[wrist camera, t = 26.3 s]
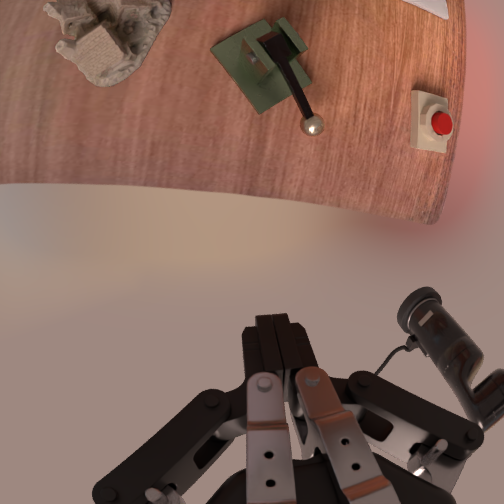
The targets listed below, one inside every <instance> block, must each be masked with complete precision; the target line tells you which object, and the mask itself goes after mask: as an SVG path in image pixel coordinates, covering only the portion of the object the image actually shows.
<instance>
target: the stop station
mask: <svg viewBox="0 0 504 504" xmlns="http://www.w3.org/2000/svg"><path fill="white" fill-rule="evenodd" d="M435 113H446V114H448V115H449V116H450V117H451V119H452V116H451V114H450V112H449V111H448V99H447V98H444V97H441V96H437V95H434V94H431V93H427V92H424V91H420V90H412V91H411V137H410V147H413V148H417V149H423V150H430V151H436V152H441V153H446V146H447V140H449V139H450V137H451V134H452V132H453V128H452V131H451V133H450V134H448V135H444V134H438V133H436V132H435V131H434V130H433V128H432V124H431V119H432V116H433V115H434V114H435ZM452 123H453V119H452Z"/></svg>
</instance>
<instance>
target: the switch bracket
mask: <svg viewBox="0 0 504 504" xmlns="http://www.w3.org/2000/svg"><path fill="white" fill-rule="evenodd" d="M271 31H273V32H278V33H281V34H282V36H283V38H284V39H285V41H286V43H287V45H288V47H289V49H290V51H291V53H292V54H291V55H289V56H287V57H286V58H287V60H288V62H289V64H290V66H291V68H292V70H293V72H294V74H295V76H296V78H297V80H298V82H299V84H300V86H301V88H302V89H303V88H304V87H306V86H308V85H310V84H312V82H311V80H310V79H309V77H308V76H307V74H306V73H305V71H304V70H303V69H302V67H301V66H300V64H299V63H298V61H297V60H296V59H297V58H298V57H299V56H300V55H301V54H303V53H304V52H305V51H306V50H308V47H307V46H306V45H305V43H304V42H303V41H302V39H301V38H300V36H299V35H298V33H297V32H296V31H295V30H294V29H293V28H292V26H291V25H290V24H289V23H288V21H287V20H286V19H285V18H284V17H282V18H280V19H278V20H276V22H275V24H274V25H273V27H272V28H271V26H270V25H269V24H268V23H267V22H266V20H265V19H263V20H261V21H259V22H257V23H255V24H253V25H251V26H249V27H247V28H245V29H243V30H241V31H240V32H238V33H236V34H234V35H232V36H231V37H229V38H227V39H226V40H224V41H222V42H220V43H219V44H217V45H215V46H214V47H212V48H211V49H210V51H211V53H212V54H213V55H214V56H215V58H216V59H217V60H218V61H219V63H220V64H221V65H222V66H223V68H224V69H225V70H226V71H227V73H228V74H229V75H230V77H231V78H232V79H233V80H234V82H235V83H236V84H237V86H238V87H239V88H240V90H241V91H242V92H243V94H244V95H245V96H246V98H247V99H248V100H249V102H250V103H251V105H252V106H253V107H254V109H255V110H256V111H257V113H258V114H261V113H263V112H264V111H266V110H267V109H269V108H271V107H272V106H274V105H275V104H277V103H279V102H280V101H282V100H284V99H285V98H287V97H289V96H290V95H292V93H291V91H290V89H289V87H288V85H287V83H286V81H285V79H284V77H283V76H282V74H281V72H280V70H279V68H278V66H277V64H276V63H274V62H273V61H272V59H271V58H270V57H269V55H268V54H267V53H266V51H265V50H264V49H263V48H262V46H261V45H260V44H259V43H258V41H257V40H256V39H257V38H259V37H261V36H263V35H265V34H267V33H269V32H271Z"/></svg>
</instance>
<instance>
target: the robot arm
mask: <svg viewBox="0 0 504 504" xmlns="http://www.w3.org/2000/svg"><path fill="white" fill-rule="evenodd" d="M406 325H407V327H408V330H407V331H408V332H409V334H410V335H411V336H409V337H408V339H407V342H406V345H407V346H405V345H403V346H400V347H398V348H396V349H395V350H393V351H392V352H391V353H390V355H389V356H388V357H387V358H386V360H385V361H384V363H383V364H382V365H381V366H380V367H379V369H378V370H377V371H376V372H375V374H373V373H371V372H368V371H357V372H354V373H353V374H351V375H350V377H349V378H348V379H341V378H333V377H330V376H328V374H327V373H326V372H325V371H324V370H323V369H321V368H319V367H318V364H317V361H316V358H315V355H314V353H313V350H312V347H311V345H310V341H309V339H308V336H307V333H306V330H305V328H304V327H303V326H301V325H300V324H299V323H290V321H289V318H288V315H287V313H282V314H272V315H258V316H256V317H255V326H254V327H245V329H244V331H243V333H242V346H243V360H244V371H245V380H244V382H243V383H242V385H241V386H239V387H238V388H236V389H234V390H232V391H229V392H226V393H224V392H223V391H220V390H218V389H208V390H205V391H202V392H201V393H199V395H197V396H196V397H195V398H194V399H193V400H192V401H191V402H190V403H189V404H188V405H187V406H186V407H184V408H183V409H182V410H181V411H180V412H179V413H178V414H177V415H176V416H175V417H174V418H173V419H171V420H170V421H169V422H168V423H167V424H166V425H165V426H164V427H163V428H162V429H160V430H159V431H158V432H157V433H156V434H155V435H154V436H153V437H151V438H150V439H149V440H148V441H147V442H146V443H144V444H143V445H142V446H141V447H140V448H139V449H138V450H136V451H135V452H134V453H133V454H132V455H130V456H129V457H128V458H127V459H126V460H125V461H123V462H122V463H121V464H120V465H118V466H117V467H116V468H115V469H114V470H112V471H111V472H110V473H109V474H107V475H106V476H105V477H104V478H102V479H101V480H100V481H98V482H97V483H96V484H95V486H94V488H93V491H92V497H93V500H94V502H95V504H185V501H184V500H183V498H182V497H181V496H182V495H183V494H184V493H185V492H186V491H187V490H188V489H189V488H190V487H191V486H192V485H193V484H194V483H195V482H196V481H197V480H198V479H199V478H200V477H201V476H202V475H203V474H204V473H205V472H206V471H207V469H209V467H210V466H211V465H212V464H213V463H214V462H215V461H216V460H217V459H218V458H219V457H220V456H221V454H222V453H223V452H224V451H225V450H226V449H227V448H228V446H229V445H230V444H231V443H232V442H233V441H234V439H235V437H238V436H241V435H243V434H246V468H245V469H243V470H241V471H238V472H237V473H235V474H233V475H232V476H230V477H229V478H228V479H227V480H226V481H225V482H224V483H223V484H222V485H221V486H220V488H219V489H218V490H217V491H216V492H215V493H214V495H213V496H212V497H211V498H210V499H209V500H208V502H207V503H206V504H456V501H455V499H454V497H453V496H452V495H451V492H452V490H453V488H454V486H455V484H456V482H457V480H458V478H459V476H460V474H461V471H462V469H463V467H464V464H465V462H466V460H467V459H468V458H469V457H470V456H471V455H472V453H474V452H475V451H476V450H477V449H478V448H479V447H480V446H481V445H482V443H483V440H484V433H485V432H486V431H488V430H489V429H490V428H492V427H493V426H494V425H495V424H496V423H497V422H499V421H500V420H501V419H502V418H503V417H504V369H497V370H495V371H493V372H492V373H491V374H490V375H488V376H487V377H486V378H485V379H484V380H483V381H482V382H481V383H479V384H478V385H477V386H476V387H475V388H474V389H471V388H470V387H471V384H472V381H473V379H474V377H475V375H476V374H477V372H478V371H479V369H480V367H481V365H482V363H483V360H484V355H483V352H482V351H481V350H480V348H479V347H478V346H477V345H476V344H475V343H474V341H473V340H472V339H471V338H470V337H469V336H468V334H467V333H466V332H465V331H464V330H463V329H462V328H461V327H460V325H459V324H458V323H457V322H456V321H455V320H454V319H453V317H452V316H451V315H450V314H449V313H448V312H447V311H446V310H445V309H444V308H443V307H442V305H441V304H440V303H439V302H438V301H437V300H436V299H435V298H434V297H427V298H424V299H422V300H421V301H419V302H418V303H417V304H416V305H415V306H414V307H413V308H412V309H411V311H410V312H409V314H408V316H407V320H406ZM418 347H419V348H420V349H421V351H422V352H423V353H424V355H425V356H426V357H430V358H431V359H432V361H433V362H434V364H435V365H436V367H437V368H438V370H439V371H440V373H441V374H442V376H443V377H444V379H445V380H446V382H447V383H448V384H449V386H450V387H451V389H452V390H453V392H454V394H455V395H456V397H457V398H458V400H459V402H460V404H461V406H462V407H463V409H464V411H465V413H466V415H467V417H468V419H469V420H467V419H465V418H463V417H460V416H458V415H456V414H454V413H452V412H449V411H447V410H445V409H443V408H441V407H439V406H436V405H435V404H433V403H430V402H428V401H426V400H424V399H422V398H420V397H418V396H416V395H414V394H412V393H410V392H408V391H406V390H404V389H402V388H400V387H398V386H396V385H394V384H392V383H390V382H388V381H386V380H384V379H382V378H381V377H379V376H377V375H378V374H379V373H380V371H382V369H383V368H384V367H385V366H386V364H387V363H388V362H389V360H390V359H391V358H392V356H393V355H394V354H395V353H396V352H398V351H400V350H402V349H404V350H405V351H407V352H410V351H412V350H413V349H415V348H418ZM284 402H289V407H290V411H291V413H290V415H291V419H292V422H293V425H294V428H295V431H296V434H297V437H298V440H299V444H300V447H301V452H302V460H295V459H292V452H291V444H290V434H289V427H288V423H286V416H285V406H284ZM368 443H370V444H371V445H373V446H375V447H377V448H379V449H380V450H382V451H384V452H386V453H388V454H390V455H391V456H393V457H395V458H397V459H399V460H401V461H403V462H405V463H407V468H408V471H407V470H405V469H403V468H401V467H400V466H398V465H396V464H395V463H393V462H391V461H389V460H388V459H386V458H384V457H382V456H381V455H379V454H377V453H374V452H372V451H371V449H370V447H369V445H368Z"/></svg>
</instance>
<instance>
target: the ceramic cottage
mask: <svg viewBox="0 0 504 504" xmlns="http://www.w3.org/2000/svg"><path fill="white" fill-rule="evenodd" d="M170 4H171V3H170V1H169V0H57V2H47V3H46V4H45V5H44V7H43V11H46V12H47V13H48V15H49V16H51V17H52V18H56V19H58V20H59V22H60V25H61V29H62V34H64V35H65V34H68V35H70V36H74V37H75V40H70V39H61V40H60V41H59V42H58V43H57V44H56V46H55V48H56V52H58V53H60V54H61V55H63V57H64V58H65V59H68V60H70V61H72V62H73V63H75V64H76V65H77V67H78V69H79V70H80V71H82V72H83V73H84V75H85V76H86V79H88V80H89V81H90V82H91V83H93V84H94V85H95V86H100V87H110V86H113V85H115V84H118V83H119V82H121V81H123V80H125V78H127V77H128V76H129V75H131V74H132V73H133V72H134V71H135V70H136V69H138V68H139V67H140V66H141V64H142V62H143V60H144V58H145V57H146V55H147V53H148V51H149V49H150V48H151V46H152V44H153V41H155V39H156V37H157V35H158V34H159V32H160V30H161V29H162V28H163V25H164V24H165V23H166V21H167V20H168V18H169V16H170V13H171V5H170Z"/></svg>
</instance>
